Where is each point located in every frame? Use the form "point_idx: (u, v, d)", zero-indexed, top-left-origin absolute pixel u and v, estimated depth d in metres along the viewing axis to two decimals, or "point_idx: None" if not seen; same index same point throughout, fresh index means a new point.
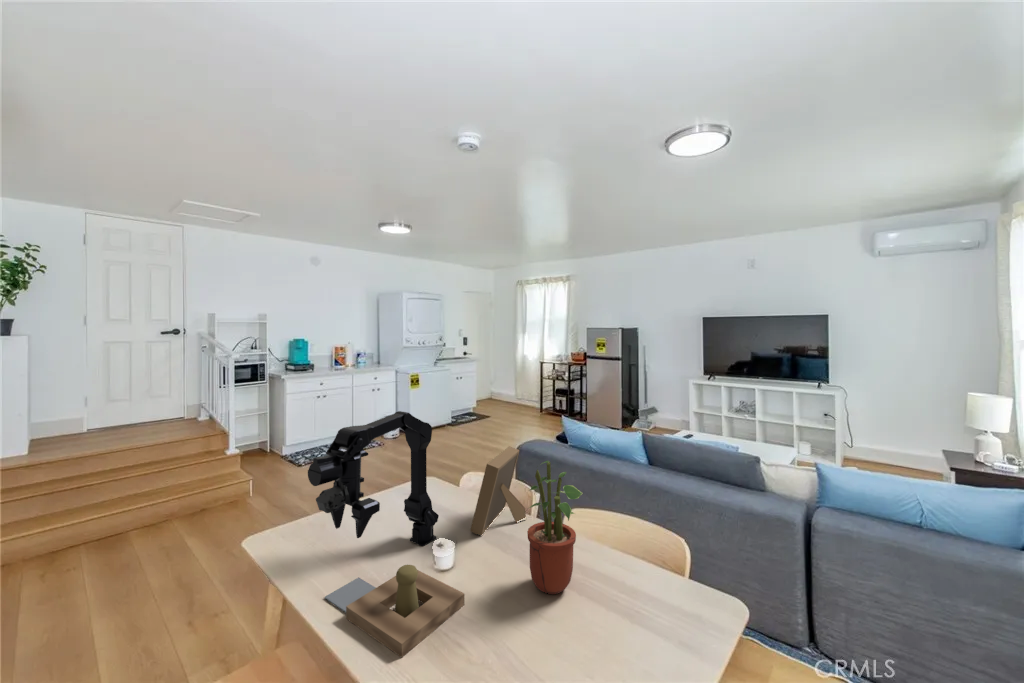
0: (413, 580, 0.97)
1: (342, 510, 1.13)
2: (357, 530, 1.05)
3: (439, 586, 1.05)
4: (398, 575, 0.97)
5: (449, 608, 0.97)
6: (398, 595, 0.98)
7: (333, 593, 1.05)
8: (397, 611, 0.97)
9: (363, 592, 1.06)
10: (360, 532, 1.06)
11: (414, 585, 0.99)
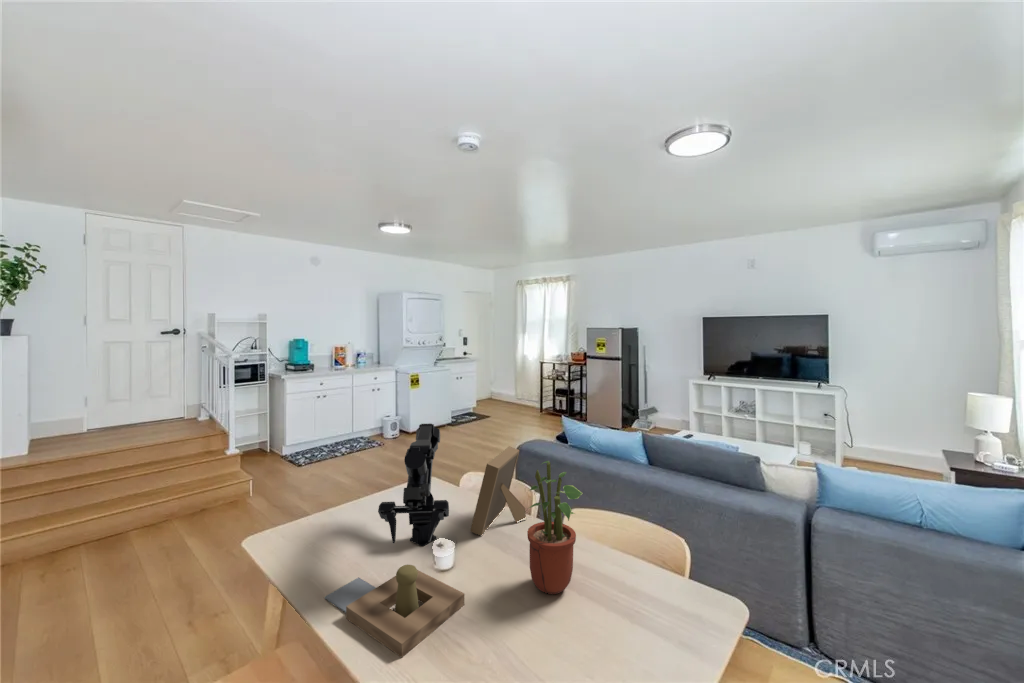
0: (413, 580, 0.98)
1: (395, 527, 1.10)
2: (431, 530, 1.08)
3: (439, 586, 1.05)
4: (398, 575, 0.97)
5: (449, 608, 0.97)
6: (398, 595, 0.98)
7: (333, 593, 1.05)
8: (397, 611, 0.97)
9: (363, 592, 1.06)
10: (431, 535, 1.08)
11: (414, 585, 0.99)
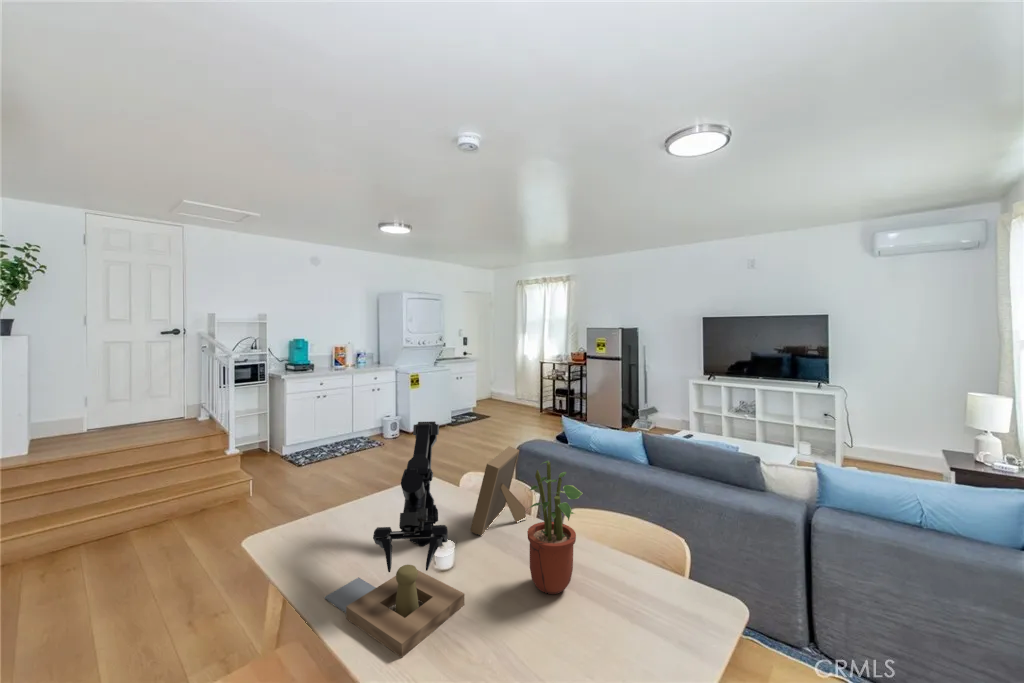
0: (413, 580, 0.98)
1: (391, 555, 1.04)
2: (429, 558, 1.02)
3: (439, 586, 1.05)
4: (398, 575, 0.97)
5: (449, 608, 0.97)
6: (398, 595, 0.98)
7: (333, 593, 1.05)
8: (397, 611, 0.97)
9: (363, 592, 1.06)
10: (429, 563, 1.02)
11: (414, 585, 0.99)
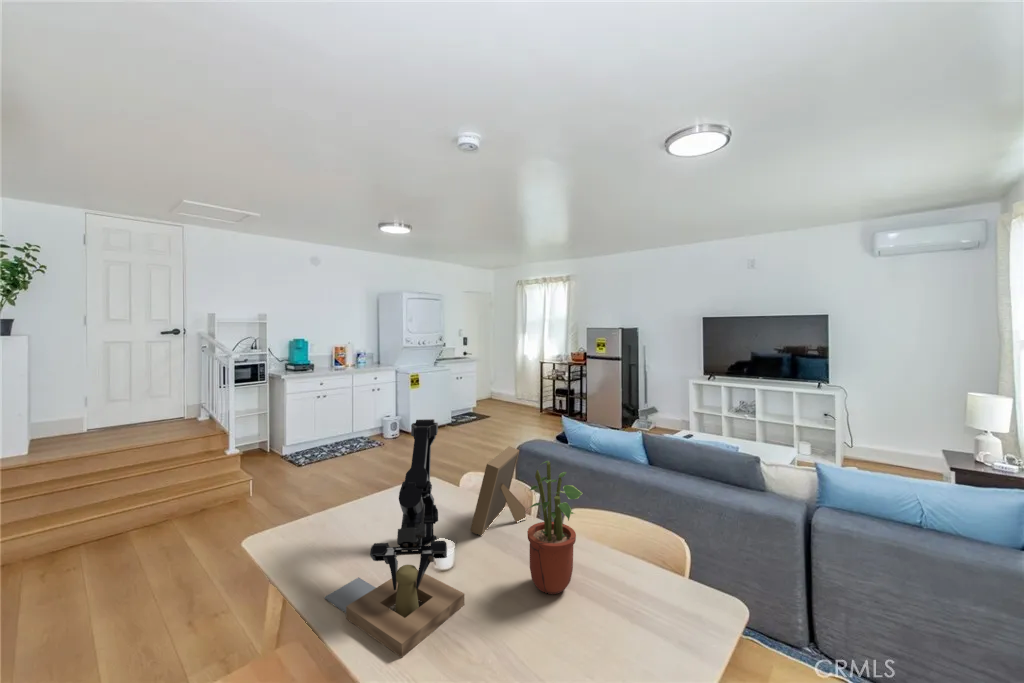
0: (413, 580, 0.97)
1: None
2: (420, 576, 0.99)
3: (439, 586, 1.05)
4: (398, 575, 0.97)
5: (449, 608, 0.97)
6: (398, 595, 0.98)
7: (333, 593, 1.05)
8: (397, 611, 0.97)
9: (363, 592, 1.06)
10: (420, 581, 0.99)
11: (414, 585, 0.99)
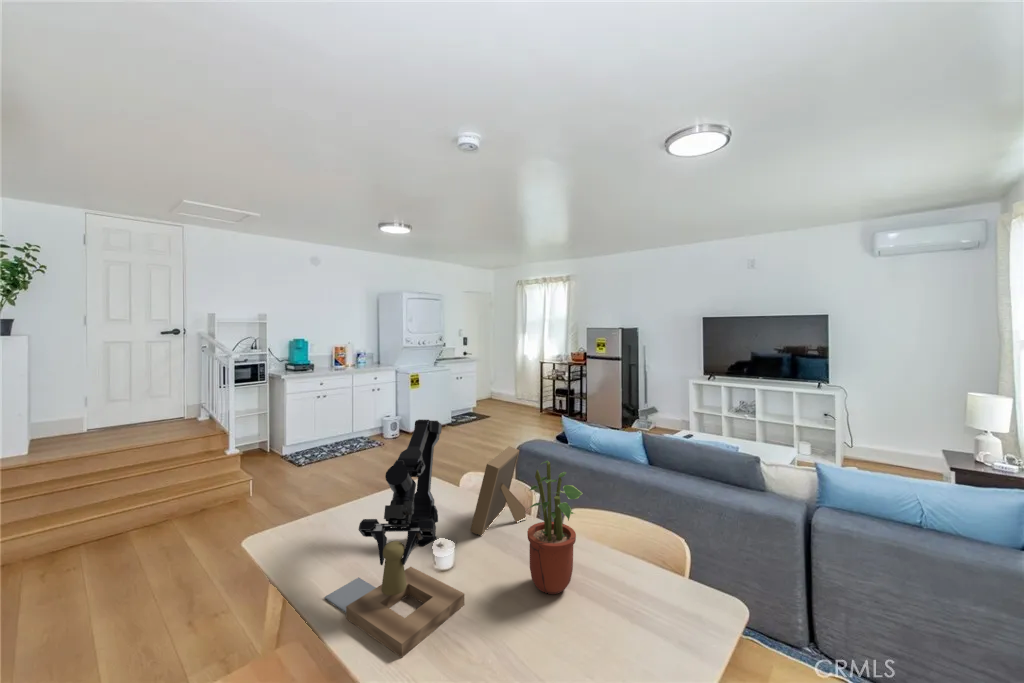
0: (399, 556, 0.98)
1: None
2: (406, 552, 0.99)
3: (439, 586, 1.05)
4: (384, 550, 0.98)
5: (449, 608, 0.97)
6: (385, 570, 0.98)
7: (333, 593, 1.05)
8: (384, 586, 0.98)
9: (363, 592, 1.06)
10: (406, 557, 0.99)
11: (401, 561, 0.99)
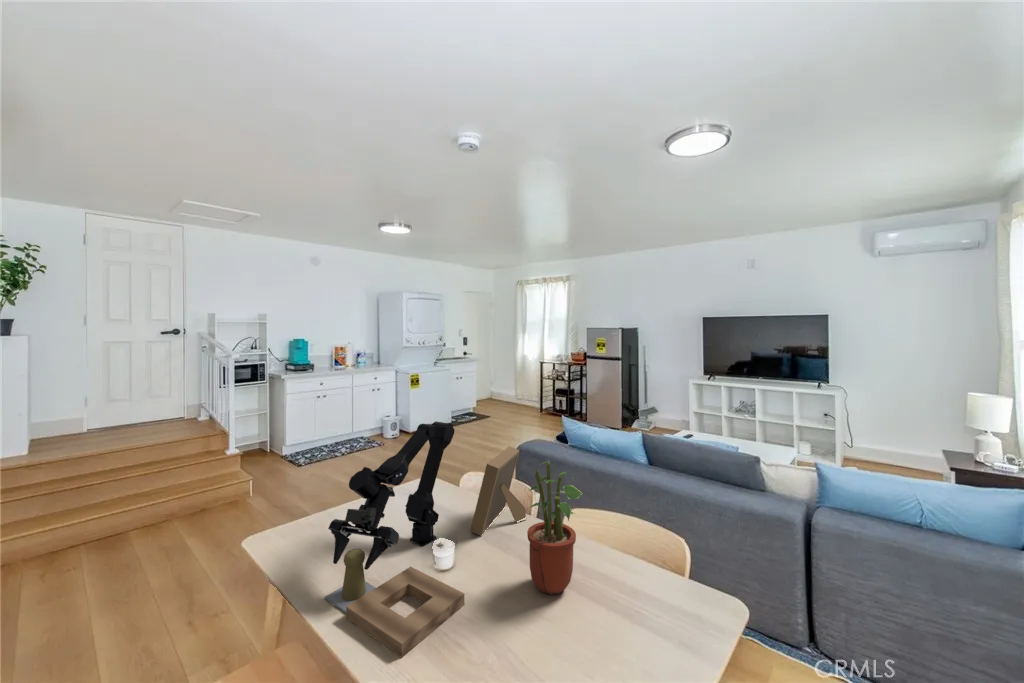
0: (356, 564, 1.03)
1: (344, 547, 1.09)
2: (370, 558, 1.03)
3: (439, 586, 1.05)
4: (344, 556, 1.04)
5: (449, 608, 0.97)
6: None
7: (333, 593, 1.05)
8: (342, 590, 1.04)
9: None
10: (370, 563, 1.03)
11: (359, 569, 1.04)
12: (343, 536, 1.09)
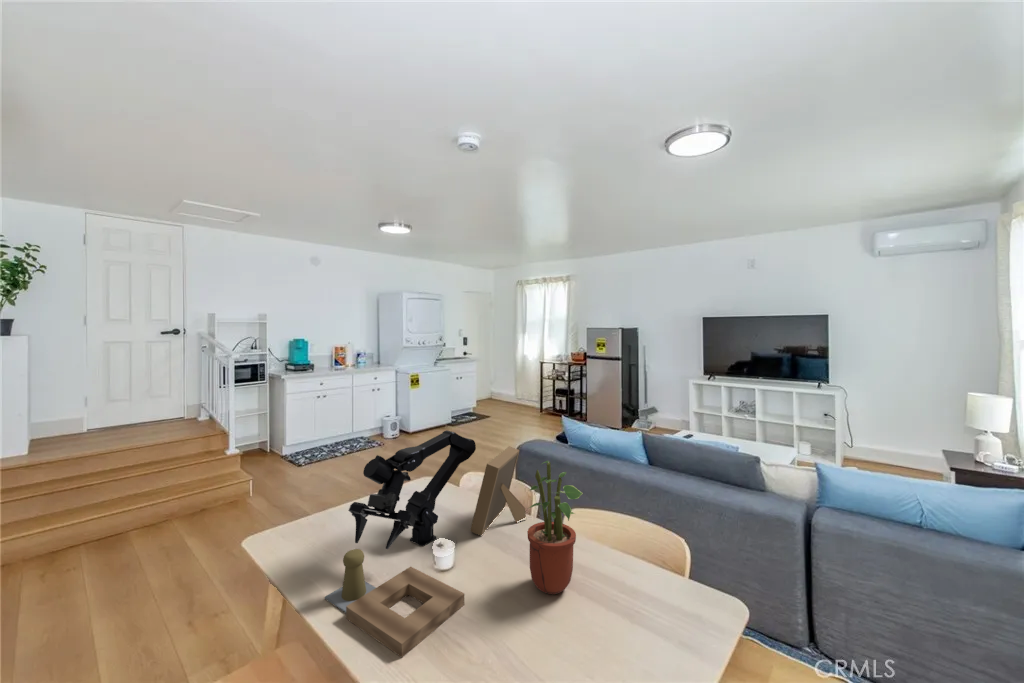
0: (355, 564, 1.03)
1: (363, 528, 1.17)
2: (390, 539, 1.13)
3: (439, 586, 1.05)
4: (343, 557, 1.04)
5: (449, 608, 0.97)
6: (344, 576, 1.04)
7: (333, 593, 1.05)
8: (342, 590, 1.04)
9: None
10: (390, 543, 1.13)
11: (358, 569, 1.04)
12: (363, 518, 1.17)
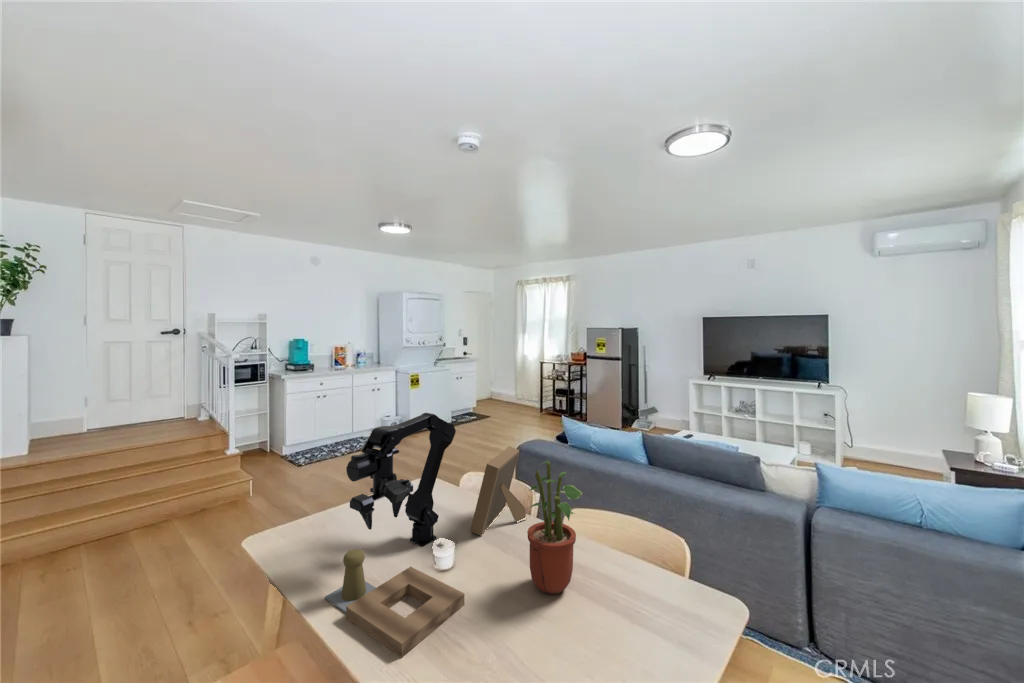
0: (355, 564, 1.03)
1: None
2: (399, 509, 1.23)
3: (439, 586, 1.05)
4: (344, 557, 1.04)
5: (449, 608, 0.97)
6: (344, 576, 1.04)
7: (333, 593, 1.05)
8: (342, 590, 1.04)
9: None
10: None
11: (358, 569, 1.04)
12: None
